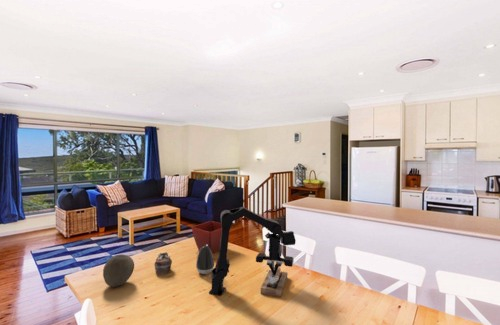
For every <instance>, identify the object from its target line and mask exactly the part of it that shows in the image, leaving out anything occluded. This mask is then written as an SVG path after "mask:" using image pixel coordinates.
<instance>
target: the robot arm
mask: <svg viewBox="0 0 500 325" xmlns="http://www.w3.org/2000/svg"><path fill="white" fill-rule="evenodd" d="M243 217H244V218H245V219H246V218H247V219H248V220H250V221H253V222H254V223H257V224H258V225H260V226H263V227H264V228H265V229H266V230H267V231H269V232H267V233H266V234H265V235H264V236H265V238H266V239H268V256H267V254H266V253H263V252H258V253H257V254H256V256H255V262H256V263H263V262H264V261H266V265H267V266H268V267H269V270H271V271H272V273H273V274H274V275H276V272H277V269H278V267H280V268H281V267H282V265H283V264H284V266H285V267H289V268H290V267H293V265H294V257H293V256H288V255H286V256H285V257H282V253H283V249H282V248H281V245H282V246H284V247H285V246H295V245H296V237H295V233H294V231H292V230H291V231H283V228H282V225H281V224H280V223H279V222H278V221H277V220H275V219H272V218H268V217H267V218H266V217H264V216H262V215H260V214H258V213H256V212H255V211H252V210H250V209H248V208H247V207H244V206H241V207H237V208H232V209H229V210H228V209H224V210H223V211H221V213H220V223H221V226H222V231H221V241H220V250H219V252H218V258H217V260H216V262H215V265H214V267H213V270H212V271H211V272H210V273H211V274H210V275H211V289H210V290H209V291H208V294H211V295H215V296H222V294H224V292H225V291H226V289H227V288H226V287H224V280H225V278H226V277H227V276H228V273H230V270H229V269H230V265H231V264H230V260H229V258H228V249H229V248H228V247H229V237H230V231H231V228H232V225H233V222H235V221H237V220H240V219H241V218H243ZM270 232H271V233H270ZM274 267H275V268H274Z"/></svg>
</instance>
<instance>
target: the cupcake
mask: <svg viewBox="0 0 500 325" xmlns="http://www.w3.org/2000/svg"><path fill="white" fill-rule="evenodd" d="M172 263H173V261H172V259H171V256H170V255H169V253H168V252H162V253H161V252H160V253H158V254H157V257H156V259H155V262H154V264H153V265H154V269H155V272H156V274H157V275H166V274H168V273H170V272H171V269H172Z"/></svg>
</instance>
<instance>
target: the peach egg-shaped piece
mask: <svg viewBox="0 0 500 325" xmlns="http://www.w3.org/2000/svg"><path fill="white" fill-rule="evenodd" d="M274 268H275V266H274ZM281 272H282V271H281V267H278V269H277V272H276V274H277V275H279V277H280V278H281Z"/></svg>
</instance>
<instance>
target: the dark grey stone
mask: <svg viewBox="0 0 500 325" xmlns="http://www.w3.org/2000/svg"><path fill="white" fill-rule="evenodd" d="M134 270H135V262H134V260H133V258H132V257H131V256H129V255H126V254H115V255H113V256H111V257H110V258H109V259H108V260H107V261H106V263H105V265H104V267H103V272H102V277H103V280H104V282H105V284H106V285H107V286H110V287H114V288H117V287H120V286H122V285H123V284H125V283H126V282H127V281H128V280H129V279H130V278H131V276H132V275H133V272H134Z"/></svg>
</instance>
